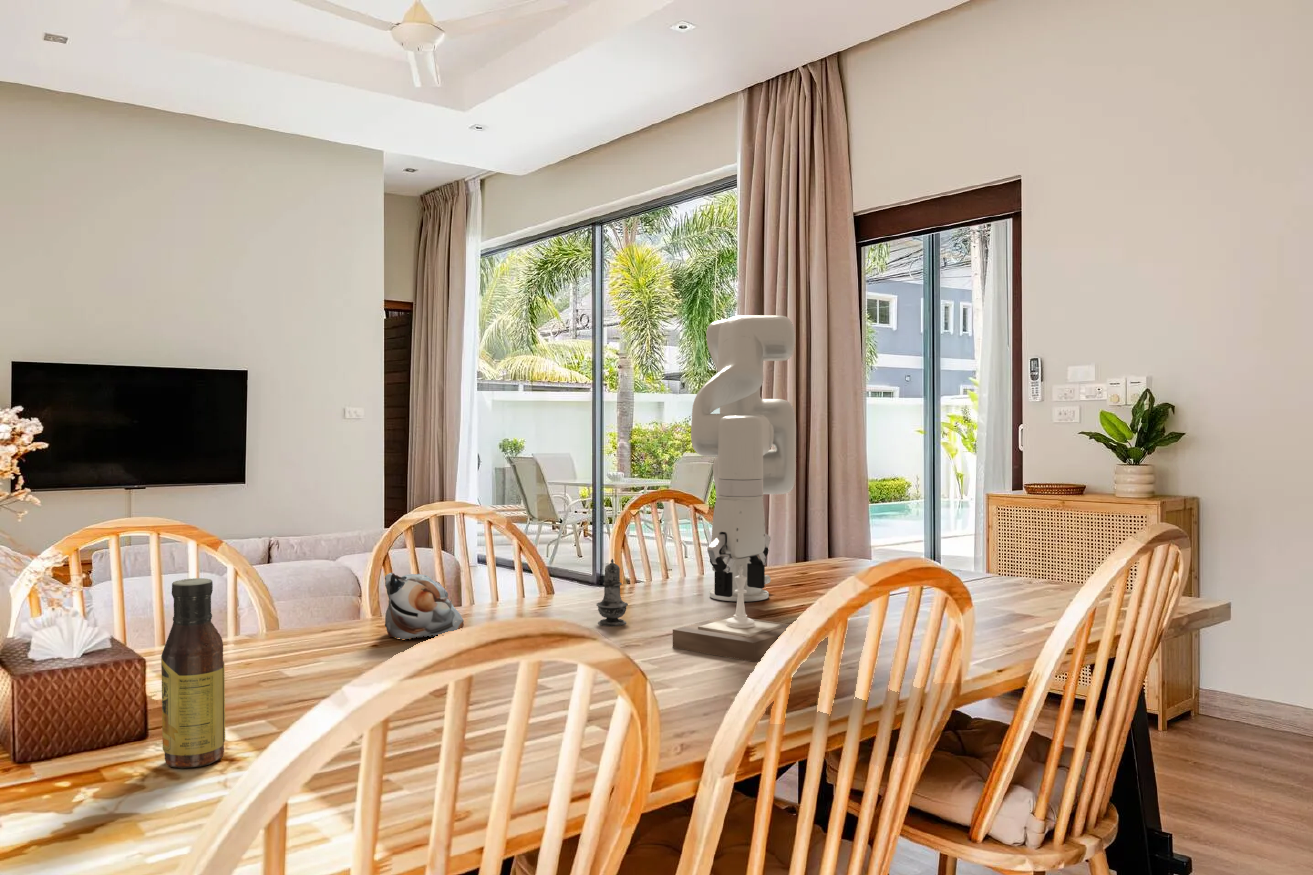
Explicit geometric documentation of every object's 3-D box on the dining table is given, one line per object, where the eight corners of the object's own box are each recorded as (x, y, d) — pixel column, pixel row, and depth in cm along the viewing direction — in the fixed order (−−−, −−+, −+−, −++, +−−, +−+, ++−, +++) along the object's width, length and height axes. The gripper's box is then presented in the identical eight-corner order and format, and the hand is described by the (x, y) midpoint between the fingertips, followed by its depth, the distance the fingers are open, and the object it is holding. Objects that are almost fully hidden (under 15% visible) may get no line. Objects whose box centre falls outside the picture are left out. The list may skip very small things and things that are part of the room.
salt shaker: (629, 620, 187) (630, 556, 187) (625, 626, 182) (625, 561, 181) (598, 619, 188) (599, 556, 188) (593, 626, 182) (594, 560, 182)
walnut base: (727, 631, 177) (727, 612, 177) (805, 644, 167) (805, 624, 167) (672, 647, 165) (672, 626, 165) (754, 661, 155) (754, 640, 155)
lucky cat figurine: (479, 631, 177) (476, 568, 170) (433, 670, 168) (428, 605, 161) (416, 600, 183) (411, 538, 177) (368, 636, 174) (360, 573, 167)
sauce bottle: (176, 752, 112) (175, 575, 111) (233, 750, 112) (233, 575, 112) (151, 772, 105) (150, 585, 105) (212, 771, 106) (212, 584, 105)
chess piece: (758, 623, 168) (758, 564, 168) (751, 629, 163) (751, 568, 163) (730, 621, 170) (730, 562, 169) (722, 626, 165) (722, 566, 165)
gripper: (749, 485, 175) (749, 582, 176) (691, 491, 161) (691, 596, 162) (786, 487, 170) (786, 586, 171) (729, 494, 157) (729, 602, 157)
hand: (740, 591), depth 166 cm, fingers open, 9 cm apart
